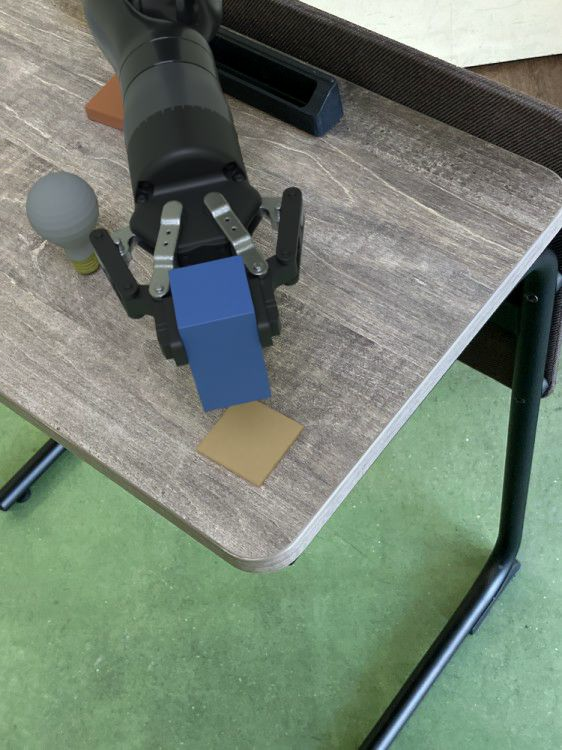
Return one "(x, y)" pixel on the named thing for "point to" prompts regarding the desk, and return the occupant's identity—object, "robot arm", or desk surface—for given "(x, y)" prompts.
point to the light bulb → (65, 216)
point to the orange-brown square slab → (107, 105)
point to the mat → (250, 440)
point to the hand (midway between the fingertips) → (223, 347)
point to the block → (220, 332)
